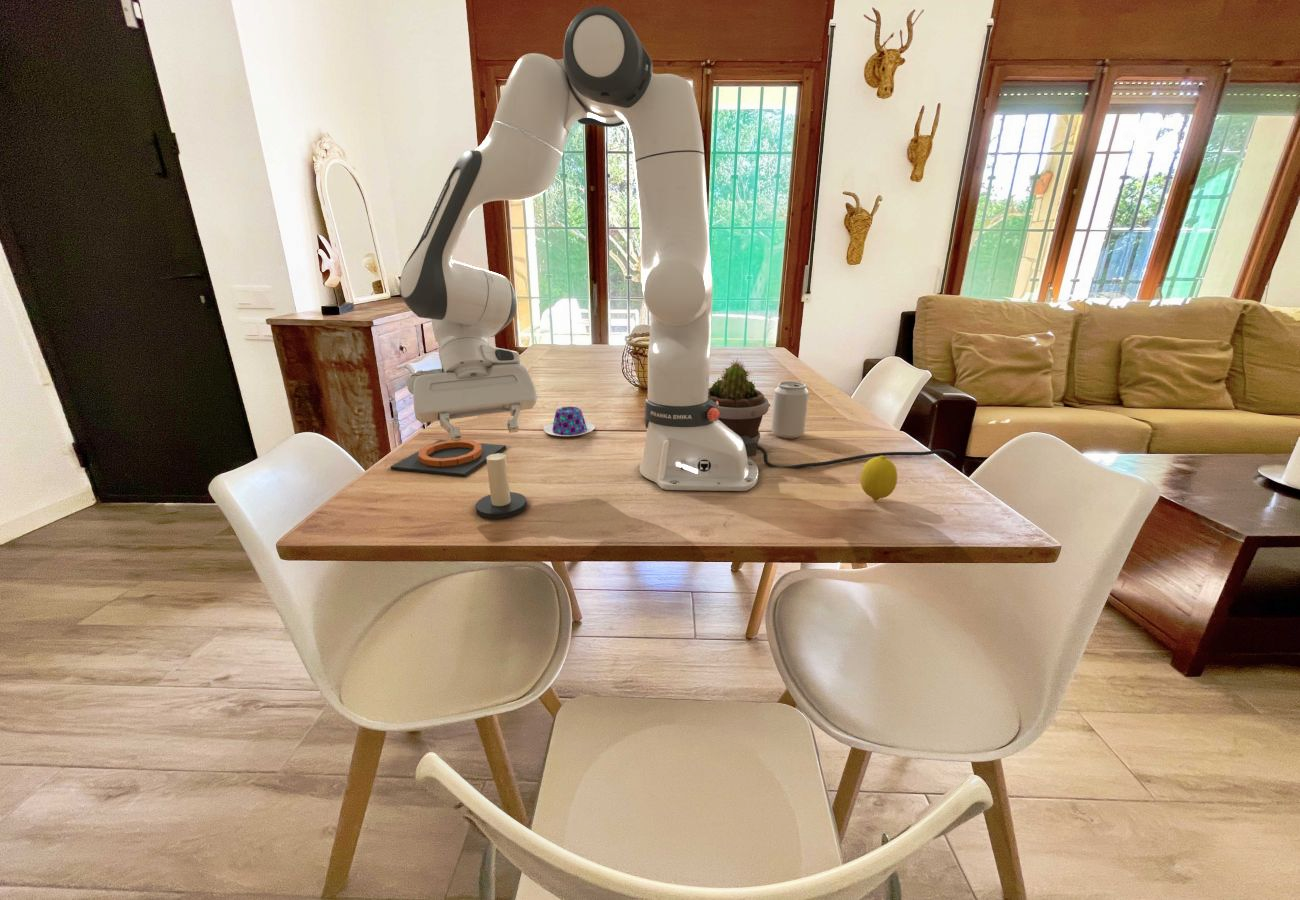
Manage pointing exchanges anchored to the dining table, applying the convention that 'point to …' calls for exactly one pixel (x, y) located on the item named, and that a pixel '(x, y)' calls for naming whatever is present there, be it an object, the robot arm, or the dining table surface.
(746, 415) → the flowerpot
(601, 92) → the robot arm
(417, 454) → the base pad
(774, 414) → the can
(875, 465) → the lemon
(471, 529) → the dining table surface
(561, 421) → the pudding
